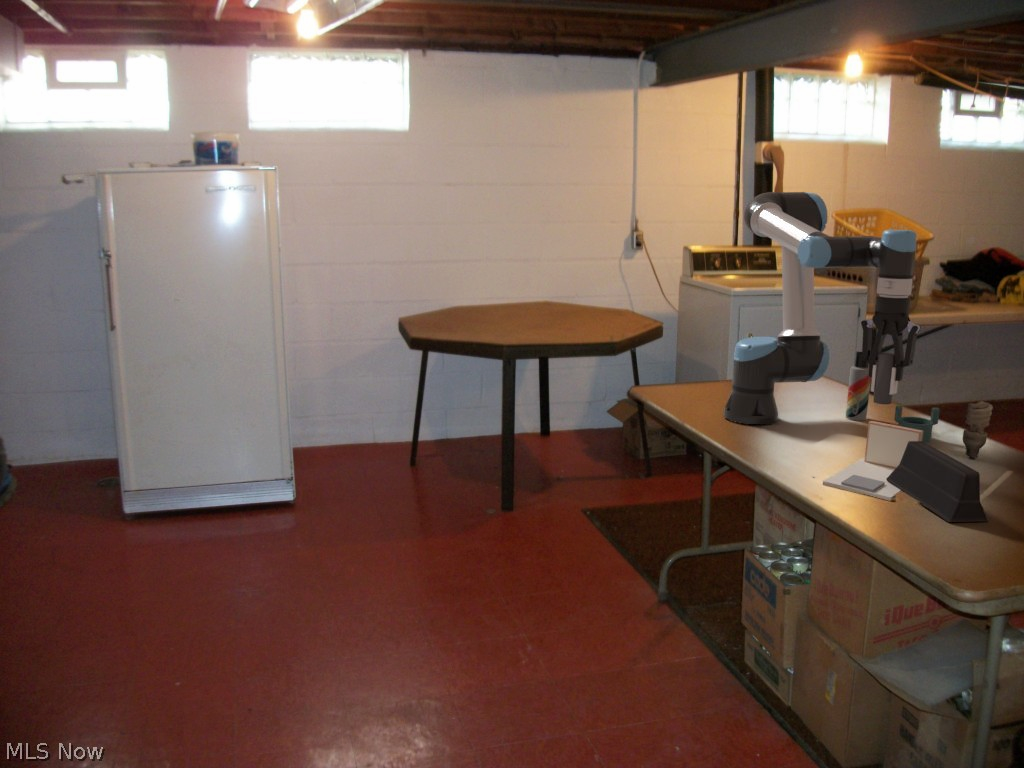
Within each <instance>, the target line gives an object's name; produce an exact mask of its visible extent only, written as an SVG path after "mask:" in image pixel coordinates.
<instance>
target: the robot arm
mask: <svg viewBox="0 0 1024 768" xmlns="http://www.w3.org/2000/svg"><path fill="white" fill-rule="evenodd" d="M743 220H744V224H745V225H746V228H748V230H749V231H750V232H751V233H753V234H755V235H756V236H759V237H762V238H769V239H771V240H772V241H774V242H776V243H777V244H778V245H780V247H781V275H782V277H781V278H782V279H781V281H782V328H783V329H782V331H781V332H780V333H778V335H777V338H775V337H772V336H752V337H746V338H742V339H741V340H739V341H738V342H737V343H736V344H735V348H734V354H733V366H732V367H733V368H732V371H733V372H732V381H731V382H732V384H731V385H732V386H731V392H730V395H729V397H728V398H727V399H728V400H727V401H726V404H725V406H724V408H723V418H724V417H726V418H727V419H729V420H732V421H736V422H740V423H739V424H741V423H746V424H745V425H748V424H761V425H760V426H763V425H762V424H768V425H772V424H775V423H777V422H778V420H779V410H778V407H777V402H776V398H775V393H774V392H775V384H777V383H807V382H815V381H818V380H820V379H821V378H822V377H823V376H824V374H825V373H826V371H827V370H828V367H829V363H830V350H829V348H828V345H827V344H826V343H825V342H824V341H822V340H821V334H820V333H819V332H818V331H817V330H816V329H815V279H814V277H815V275H814V271H815V270H814V269H832V268H833V269H838V268H839V269H841V268H845V269H846V268H847V269H849V268H854V269H856V268H859V269H860V268H868V269H869V268H872V269H878V277H877V284H876V285H877V286H876V294H877V296H876V297H875V303H874V304H875V305H874V306H875V307H874V314H873V315H872V317H871V318H869V319H864V320H862V321H860V324H861V328H862V345H861V346H862V348H861V352H862V360H863V361H866V362H868V363H869V374H868V375H869V377H871V382H870V392H873V393H874V391H875V382H876V372H877V362H878V353H882V349H883V345H884V343H885V339H886V337H887V335H889V336H891V339H892V340H893V341H892V342H893V353H894V354H895V367H893V368H892V374H891V383H890V393H889V394H891V395H892V396H893V395H895V394H898V386H899V382H900V381H902V380H903V377H904V376H903V375H904V368H905V367H909V366H911V365H913V363H914V359H915V352H916V345H917V344H916V343H917V338H918V334H919V333H920V331H921V329H922V326H921V325H920V324H915V323H914V322H911V318H910V315H909V314H910V307H911V298H910V297H909V296H911V295H912V290H913V280H914V279H913V277H914V271H915V270H914V269H915V261H916V253H917V248H918V247H917V238H918V237H917V235H918V234H917V233H916V231H915V230H912V229H885V230H884V231H883V232H882V234H881V236H873V235H861V236H860V235H859V236H831V235H829V234H826V233H824V231H825V229H826V227H827V226H826V225H827V223H828V220H829V219H828V209H827V204H826V203H825V201H824V199H823V198H822V197H821V196H820V195H818V194H817V193H814V192H806V191H799V192H798V191H796V192H795V191H794V192H790V191H787V192H785V191H783V192H781V191H776V192H775V191H773V192H772V191H767V192H763V193H760V194H758V195H756V196H755V197H753V198H752V199H751V200H749V202H748V203H747V205H746V207H745V209H744V211H743ZM874 326H875V327H876V329H877V332H876V334H875V340H874V344H873V347H872V340H873V338H872V337H873V327H874ZM906 328H907V331H908V335H907V340H906V346H905V347H906V348H905V353H904V345H903V338H904V337H903V335H904V334H903V332H904V330H906ZM726 418H725V419H726ZM727 419H726V420H727ZM729 420H728V421H729ZM732 421H731V422H732ZM736 422H735V423H736Z"/></svg>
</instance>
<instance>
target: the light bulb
mask: <svg viewBox="0 0 1024 768" xmlns="http://www.w3.org/2000/svg"><path fill="white" fill-rule="evenodd" d="M967 407H968V408H967V409H966V412H967V413H966V415H965V418H966V420H965V424H966V425H968V426H969V427H968V428H967V429H965V430H963V432H962V442H963V444H964V446H965V455H966V456H967V457H968V458H969V460H975V459H977V458H978V457H979V453H980V450H981V449H982V448H983V447H984V446H985V444H986V443H987V438H988V433H987V432H986V431H985V430H984V429H985V428H987V427H989V426H990V420H991V416H992V414H993V413H992V410H993V409H994V407H993V405H992V404H991V403H989V402H986V401H983V400H978V401H977V402H976V403H974V402H969V403H967Z"/></svg>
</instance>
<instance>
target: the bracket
mask: <svg viewBox="0 0 1024 768" xmlns="http://www.w3.org/2000/svg"><path fill="white" fill-rule="evenodd" d="M902 415H903V406H902V405H895V411H894V418H893V419H894V422H896V423H898V425H897V426H901V427H907V428H912V429H917V430H922V431H923V438H922V441H923V442H925V443H926V444H929V443H931V441H932V434H933V433H932V432H933V426H935V425H938V424H939V417H940V407H932V408H931V413H930V419H929V418H925V417H920V416H919V417H918V416H909V415H908V416H902Z"/></svg>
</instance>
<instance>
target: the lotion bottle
mask: <svg viewBox="0 0 1024 768" xmlns="http://www.w3.org/2000/svg"><path fill="white" fill-rule="evenodd" d="M849 369H850V370H849V377H848V378H849V380H848V381H849V382H848V388H847V396H846V399H847V400H846V407H845V409H846V410H845V418H846V419H847V420H850V421H855V420H856V421H857V422H862V421H866V420H867V415H868V410H869V409H868V408H869V399H870V398H869V397H870V392H871V382H872V377H869V375H868V374H869V363H868V362H866V361H863V360H862V351H858V350H857V351H855V355H854V364H853V365H852V366H850V368H849Z"/></svg>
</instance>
